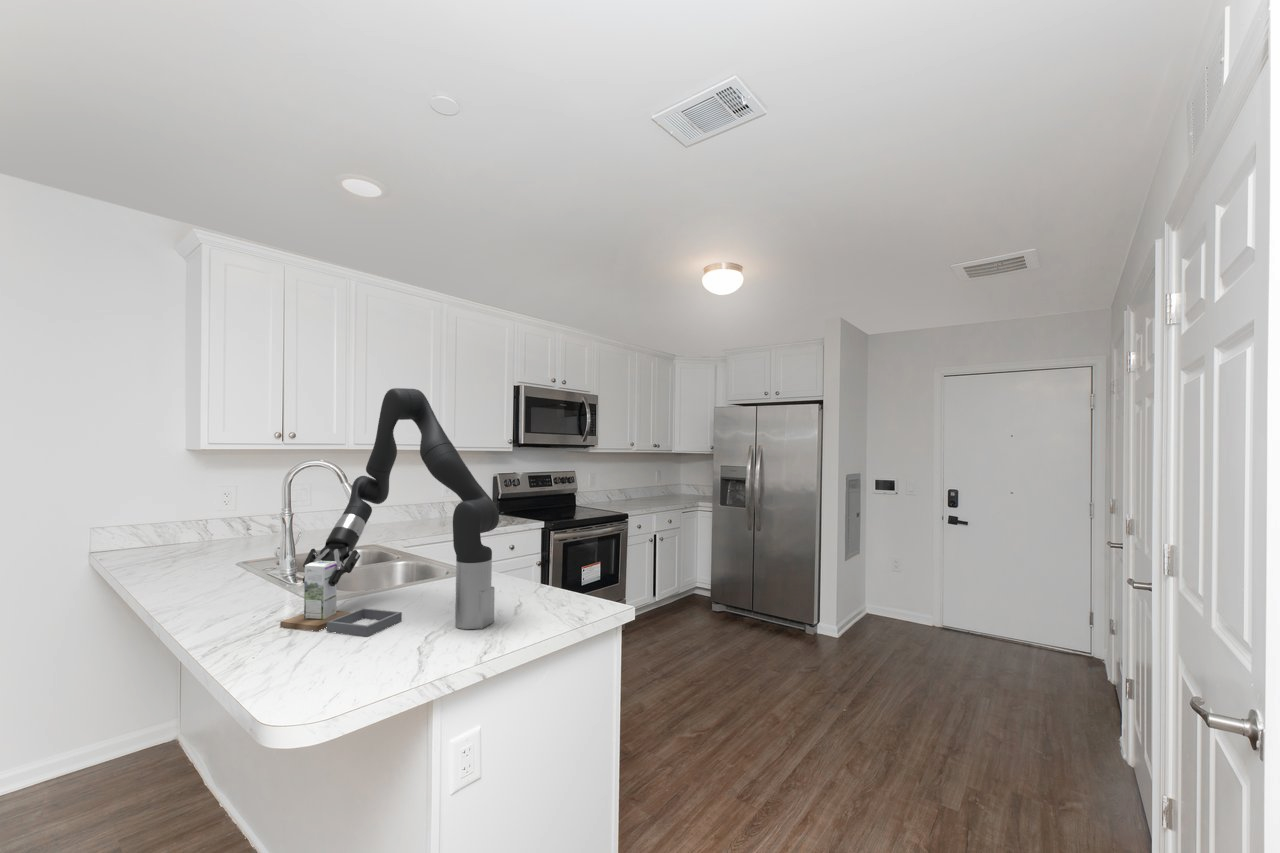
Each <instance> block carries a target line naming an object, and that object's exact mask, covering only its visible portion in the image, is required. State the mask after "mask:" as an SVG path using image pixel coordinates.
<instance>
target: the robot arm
mask: <svg viewBox="0 0 1280 853" xmlns="http://www.w3.org/2000/svg"><path fill="white" fill-rule="evenodd" d="M399 420H400V421H402V420H410V421H413V422H414V424H415V425H416V426H417V428H418V430H419V432H420V434H421V437H420V445H419V447H420V448H419V454H420V457H421V460H422V462H423V463H424V465H425V467H426V468H427V470H428V472H429V473H430V474H431V475H432V477H433V478H435V480H437V481H438V482H439V483H440V484H442V485H443V486H445V487H446V488H447V489H449V490H450V491H452V492H453V493H454V494H455V495H457V497H458V498H459V499H460V500H461V502H459V503H458V504H456V506H455V508H454V510H453V515H452V537H453V538H452V540H453V541H452V544H453V549H454V552H455V558H456V560H455V603H454V604H455V605H454V606H455V608H454V610H455V612H454V613H455V614H454V618H455V619H454V626H455V627H456V628H458V629H460V630H462V629H463V630H475V629H477V630H478V629H480V630H481V629H485V628H486V627H487V626H489V625H491V624H492V623H495V590H496V589H495V586H493V585H492V575H493V574H492V570H493V569H492V567H493V564H492V563H493V550H492V548H491V547H490V546H486V545H484V544H483V543H482V536H481V534H483V533H488V532H491V531H494V529H496V528H497V527H498V525H499V522H500V514H499V510H498V508H497V506H496V504H495V502H494V501H493V499H492V498H491V497H490V496H489V495H488V494H487V492H486V491H485V490H484V489H483V487H482V486H481V485H480V484H479V482H478V480H476V478H475V477H474V476H473V475H474V474H472V472H471V470H469V468H468V466H467V465H466V464H465V462H464V461H463V458H462V457H461V455H460V453H459V452H458V450H457V449H456V447H455V446H454V445H453V443H452V441H451V440H450V439H449V437H448V435H447V434H446V432H445V431H444V428H442V426H441V423H440V422H439V420H438V418H437V417H436V415H435V412H434V411H433V408H432V405H431V404H430V402H429V401H428V399H427V397H426V395H425V394H424V393H423V392H422V391H421V390H419V389H416V388H403V387H402V388H400V387H395V388H390V389H389V390H387V391H386V393H385V394H384V397H383V399H382V403H381V407H380V413H379V418H378V423H377V428H376V429H377V431H376V435H375V436H376V437H375V441H374V444H373V448H372V450H371V452H370V455H369V458H368V460H367V464H366V466H365V471H366V473H367V474H368V475H369V476H366V475H360V476H358V477H357V478H356V479H354V481H353V482H352V486H351V491H350V498H349V501H348V503H347V506H346V507H345V509H344V511H343V513H342V514H341V516H340V517H339V519H338V520H337V522H336V523H335V525H334V527H333V528H332V529H331V532H330V534H329V535H328V537H327V538H326V541H325V545H324V547H323V548H322V549H319V550H318V549H317V550H316V549H315V548H311V550H310V551H309V553H308V555H307V556H306V558H305V560H304V562H303V563H302V564H303V565H302V567H303V568H304V569H305V565H307V564H309V563H311V562H315V561H336V562H337V564H336V571H334V572H333V574H332V576H331V578H330V580H329V582H328V583H329V585H330V586H335V584H338V583H339V581H340V579H341V577H342V575H344V574H345V573H347V574H350V573H352V571H353V569H354V567H355V566H356V564H357V563H358V560H359V559H360V557H361V554H360V553H359V552H358V550H357V549H355V547H356V545H357V543H358V542H359V540H360V538H361V536H362V534H363V532H364V529H365V526H366V525H367V522H368V520H369V518H370V517H371V515H372V512H373V508H372V506H371V505H370V504H369V503H372V504H374V505H380V504H383V503H384V502H385V501H386V500H387V498H388V497H389V493H390V492H389V491H390V476H391V472H392V470H393V467H394V465H395V462H396V459H397V456H398V448H397V443H396V440H395V436H394V435H395V434H394V431H395V427H396V425H397V423H398V422H399ZM367 502H368V503H367ZM302 583H303V584H304V585H305V575H304V576H303V578H302Z"/></svg>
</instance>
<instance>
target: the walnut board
mask: <svg viewBox="0 0 1280 853" xmlns="http://www.w3.org/2000/svg"><path fill="white" fill-rule="evenodd" d="M352 612H353V611H352ZM352 612H351V611H344V610H336V614H334V615H333V616H331V617H329V618H326V619H324V620H318V619H304V613H302V614H298V615H295V616H292V617H290V618H287V619H283V620H280V623H279V624H280V625H279V627H280V628H282V627H285V628H284V629H290V628H294V629H293V630H298V629H305V630H304V631H306V630H313V631H312V632H314V631H318V632H320V631H319V630H321V629H323V630H325V629H324V628H326V627H327V622H328V621H331V620H333V619H336V618H338V617H341V616H344V615H346V614H349V613H352ZM321 631H322V630H321Z"/></svg>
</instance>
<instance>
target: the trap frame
mask: <svg viewBox="0 0 1280 853" xmlns="http://www.w3.org/2000/svg"><path fill="white" fill-rule="evenodd" d="M402 616H403V614H402V611H394V610H393V611H392V610H384V609H376V608H375V609H374V608H366V607H363V608H360V609H357V610H355V611H352V613H349V614H346V615H344V616H341V617H338V618H336V619H333V620H331V621H328V622H327V628H326V629H325V630H326V631H329V632H328V633H332V632H336V633H335V634H340V633H343V634H342V635H348V634H349V636H357V637H365V636H366V637H367V638H368V637H369V636H372V635H374V633H375V634H377V633H379V632H381V631H383V629H384V630H385V628H386V629H388V628H390V627H393V626H394V624H395V625H398V624H400V623H401V622H402ZM362 618H363V619H365V618H367V620H374V619H376V621H374V622H372V623H370V624H358V623H356V622H358V621H360V620H362ZM357 620H358V621H357ZM352 622H353V623H352ZM392 625H393V626H392ZM387 627H388V628H387ZM376 632H377V633H376Z"/></svg>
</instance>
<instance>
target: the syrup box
mask: <svg viewBox="0 0 1280 853" xmlns="http://www.w3.org/2000/svg"><path fill="white" fill-rule="evenodd" d="M336 564H337V562H336V561H322V560H321V561H315V562H311V563H309V564H307V565H305V568H304V576H305V584H304V586H303V587H304V590H303V591H304V593H303V601H304V602H303V614H304V619H318V620H324V619H326V618H329V617H331V616H333V615H334V614H336V611H337V584H338V583H337V584H335V586H330V585H329V583H328V582H329V580H330V578H331V576H332V574H333V572H334V571H336Z"/></svg>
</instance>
